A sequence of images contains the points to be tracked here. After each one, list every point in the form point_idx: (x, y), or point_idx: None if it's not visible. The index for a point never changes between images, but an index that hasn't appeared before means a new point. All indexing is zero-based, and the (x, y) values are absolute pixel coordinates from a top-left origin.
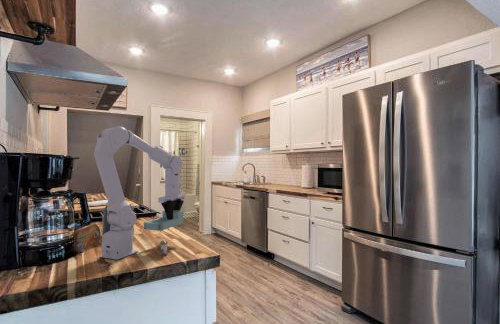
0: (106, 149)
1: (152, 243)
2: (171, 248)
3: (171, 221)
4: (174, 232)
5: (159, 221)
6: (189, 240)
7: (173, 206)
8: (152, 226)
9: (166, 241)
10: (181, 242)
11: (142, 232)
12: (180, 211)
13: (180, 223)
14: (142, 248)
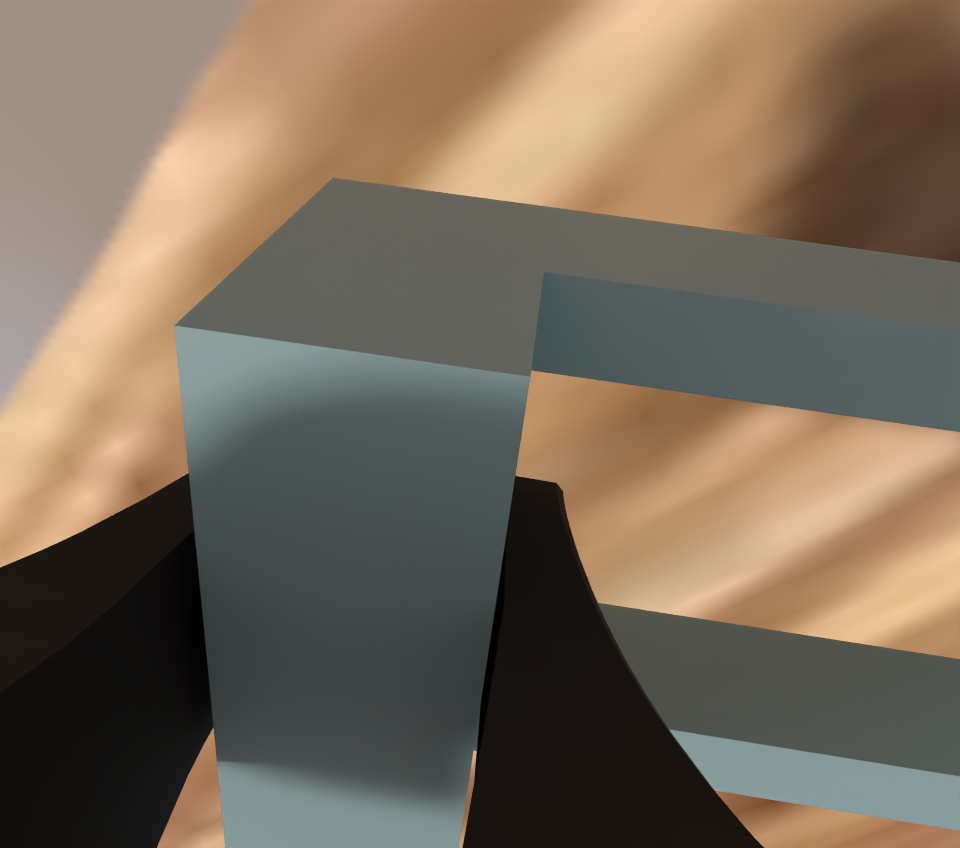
0: None
1: (628, 523)
2: (884, 85)
3: (936, 314)
4: (5, 530)
5: (682, 680)
6: (288, 49)
7: (536, 766)
8: None
9: None
10: (459, 126)
11: (203, 828)
12: (376, 351)
13: (467, 202)
14: (908, 519)
